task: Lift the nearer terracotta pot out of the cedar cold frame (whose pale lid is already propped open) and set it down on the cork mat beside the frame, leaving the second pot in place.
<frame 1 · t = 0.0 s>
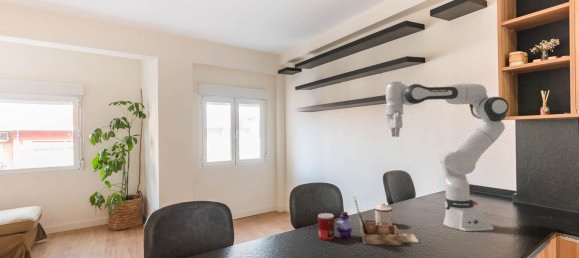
hand: (395, 136, 159), 48 cm above the kitchen counter, fingers open, 8 cm apart
potion bottle: (345, 237, 142), on the kitchen counter
teacup with lid: (382, 224, 160), on the kitchen counter
cold frame: (380, 238, 139), on the kitchen counter
canned food: (326, 238, 141), on the kitchen counter
cork mat: (408, 238, 137), on the kitchen counter
pot near: (383, 237, 138), point 1 cm above the kitchen counter, touching cold frame
pot far: (370, 234, 143), point 1 cm above the kitchen counter, touching cold frame
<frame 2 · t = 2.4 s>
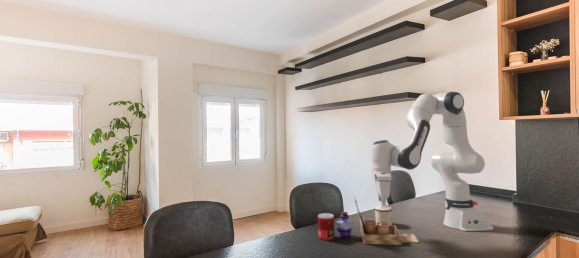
hand: (382, 203, 138), 17 cm above the kitchen counter, fingers open, 8 cm apart
nothing on the kitchen counter moved.
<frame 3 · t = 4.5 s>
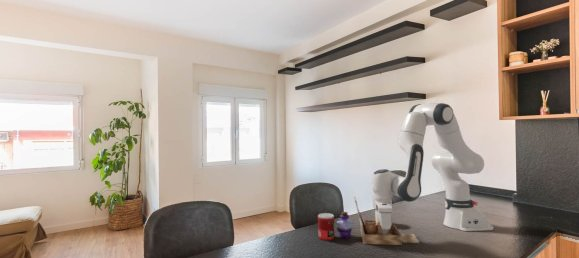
hand: (383, 232, 138), 3 cm above the kitchen counter, fingers closed on pot near, 5 cm apart
pot near: (383, 237, 138), point 1 cm above the kitchen counter, touching cold frame, gripper
everything else where it was.
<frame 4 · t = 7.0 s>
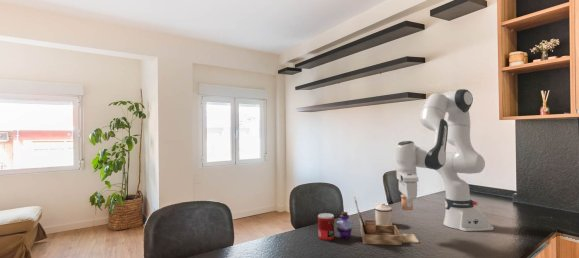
hand: (407, 204, 137), 16 cm above the kitchen counter, fingers closed on pot near, 5 cm apart
pot near: (407, 208, 137), point 14 cm above the kitchen counter, touching gripper
everything else where it was.
when the fingers open (4 cm above the kitchen counter, at t = 9.6 s): pot near stays where it is, resting on cork mat.
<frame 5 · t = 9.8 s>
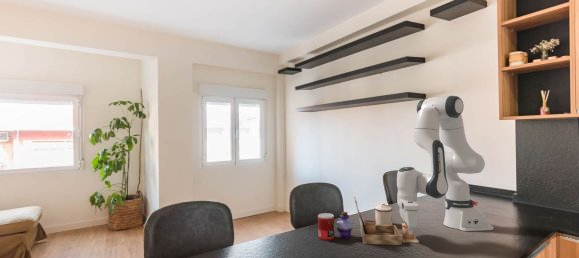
hand: (408, 230, 137), 4 cm above the kitchen counter, fingers open, 7 cm apart
pot near: (408, 237, 137), point 1 cm above the kitchen counter, touching cork mat
everything else where it was.
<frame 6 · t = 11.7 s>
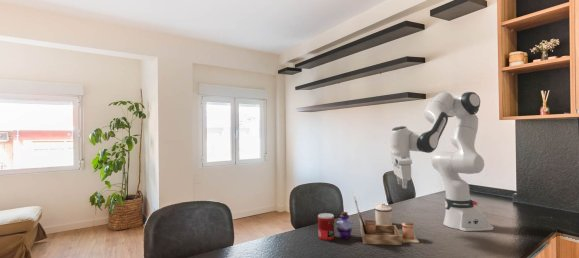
hand: (402, 186, 146), 23 cm above the kitchen counter, fingers open, 8 cm apart
nothing on the kitchen counter moved.
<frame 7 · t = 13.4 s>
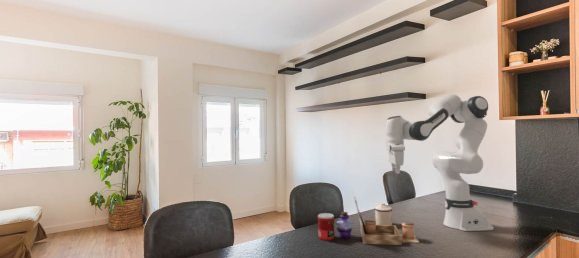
hand: (395, 172, 154), 29 cm above the kitchen counter, fingers open, 8 cm apart
nothing on the kitchen counter moved.
at the end: pot near inside the target area on the cork mat (0.1 cm from its centre), point 0.6 cm above the cork mat's base; pot near tilted 0°; pot far moved 0.0 cm from its start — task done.
